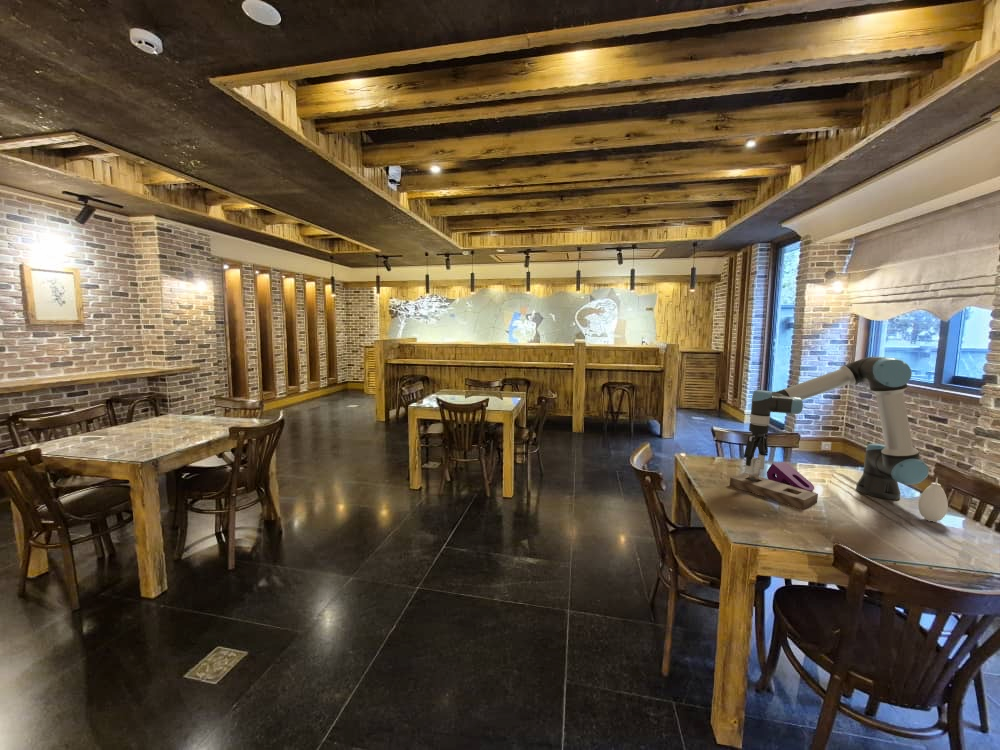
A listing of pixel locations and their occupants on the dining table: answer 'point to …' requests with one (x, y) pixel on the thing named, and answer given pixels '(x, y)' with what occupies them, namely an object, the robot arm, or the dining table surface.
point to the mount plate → (775, 491)
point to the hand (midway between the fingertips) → (754, 470)
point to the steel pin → (755, 470)
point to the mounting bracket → (788, 476)
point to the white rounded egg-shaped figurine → (933, 503)
